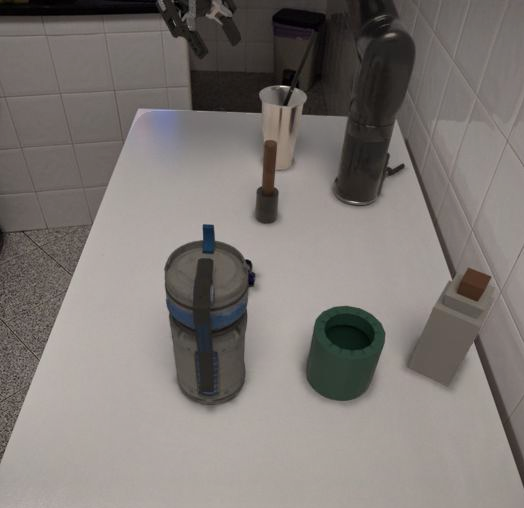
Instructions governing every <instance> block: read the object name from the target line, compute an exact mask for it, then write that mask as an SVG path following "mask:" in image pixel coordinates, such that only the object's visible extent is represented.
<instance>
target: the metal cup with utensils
mask: <svg viewBox="0 0 524 508" xmlns="http://www.w3.org/2000/svg"><path fill="white" fill-rule="evenodd" d="M318 33H319V29H318V28H315V27H314V28H313V29H312V33H311V35H310V37H309V40H308V43H307V45H306V47H305V49H304V52H303V54H302V57H301V60H300V62H299V65H298V67H297V69H296V71H295V72H296V73H295V74H294V77H293V80H292V82H291V84H290V86H289V85H271V86H267V87H264V88H263V89H261V90H260V91H259V93H258V97H259V99H260V101H261V119H262V121H261V122H262V137H263V143H264V142H265V141H267V140H274V141H276V142H277V155H276V169H275V171H284V170H287V169H289V168H291V167H292V164H293V159H294V158H293V157H294V154H295V148H296V143H297V139H298V136H299V135H298V134H299V129H300V124H301V119H302V115H303V108H304V105H305V103H306V102H307V101H308V100H307V99H308V96H307V94H306V93H305V92H304V91H303V90H301V89H299V88H297V87H296V86H297V84H298V81H299V78H300V76H301V75H302V71H303V69H304V67H305V64H306V62H307V60H308V58H309V54H310V52H311V50H312V47H313V45H314V43H315V40H316V37H317V36H318Z"/></svg>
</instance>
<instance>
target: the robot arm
mask: <svg viewBox="0 0 524 508" xmlns="http://www.w3.org/2000/svg"><path fill="white" fill-rule="evenodd" d="M344 2H345V5H346V7H347V12H348V16H349V19H350V24H351V29H352V33H353V38H354V44H355V49H356V54H357V59H358V61H359V63H360V71H359V77H358V81H357V86H356V90H355V91H356V92H355V94H354V95H353V96H352V98H351V99H350V101H349V102H350V103H349V108H348V114H347V118H346V125H345V129H344V134H343V135H344V136H343V142H342V147H341V152H340V157H339V158H340V159H339V165H338V170H337V175H336V177H335V179H334V182H333V185H334V188H333V189H334V190H333V192H334V195H335V196H336V198H337V199H338V200H340V201H341V202H343V203H345V204H348V205H353V206H367V205H371V204H372V203H374V202H375V201H376V200H377V198H378V197H379V196H381V192H382V189H383V185H384V182H385V180H386V176H387V174H389V175H394V174H397V173H398V172H399V171H401V170H402V169H404V168H405V167H406V165H405V163H401V164H399V165H397V166H396V167H394V168H393V169H392V167H391V166H388V165H389V162H390V157H391V154H390V153H389V149H390V144H391V140H392V136H393V132H394V128H395V124H396V120H397V116H398V113H399V111H400V110H401V109H402V107H403V104H404V102H405V99H406V96H407V94H408V93H407V92H408V89H409V85H410V82H411V78H412V76H413V72H414V67H415V62H416V57H417V55H416V54H417V45H416V42H415V40H414V38H413V36H412V34H411V33H410V31H409V30H408V28H407V26H406V25H405V23H404V22H403V20H402V17H401V16H400V13H399V11H398V8H397V6H396V3H395V0H344ZM225 3H226V4H225ZM212 4H213V6H212ZM226 5H227V6H226ZM155 7H156V8H157V10H158V13H159V14H160V16H161V18H162V19H163V21H164V23H165V26H166V27H167V29H168V30H169V33H170V34H171V36H172V38H174V39H178V38H182V39H184V40H185V41H186V42H187V44H188V45H189V47H190V48H191V51H192V53H193V54H194V55H195V56H196V57H197V58H198V59H199V60H200V61H201V60H203V59H205V58H206V57H207V56H208V55H209V49H208V47H207V45H206V44H205V42H204V40H203V38H202V37H201V34H200V33H199V31H198V30H197V29H196V21H195V20H196V19H198V18H203V17H206V18H208V19H209V20H214V21H215V22H217V23H218V24H220V25H221V29H222V31H223V33H224V35H225V36H226V39H227V40H228V41H229V44H230V45H231V46H232V47H236V46H237V45H238V44H239V43H241V41H242V35H241V32H240V30H239V29H238V27H237V25H236V23H235V21H234V19H233V15H234V14H235V13H236V12H237V10H238V8H237V5H236V4H235V1H234V0H156V1H155ZM227 7H228V8H227Z"/></svg>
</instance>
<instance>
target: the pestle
mask: <svg viewBox="0 0 524 508" xmlns="http://www.w3.org/2000/svg"><path fill="white" fill-rule="evenodd" d="M276 155H277V142H276V141H274V140H267V141H265V142H264V141H263V157H262V159H263V160H262V161H263V162H262V175H261V176H262V178H261V186H259V187H258V188H257V189H256V191H255V192H256V196H255V219H256V221H257V222H259V223H260V224H265V225H267V224H273V223H274V222H276V221H277V218H278V210H279V209H278V207H279V196H280V195H279V194H280V191H279V189H278V188H277V187H275V183H276V170H275V169H276Z"/></svg>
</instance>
